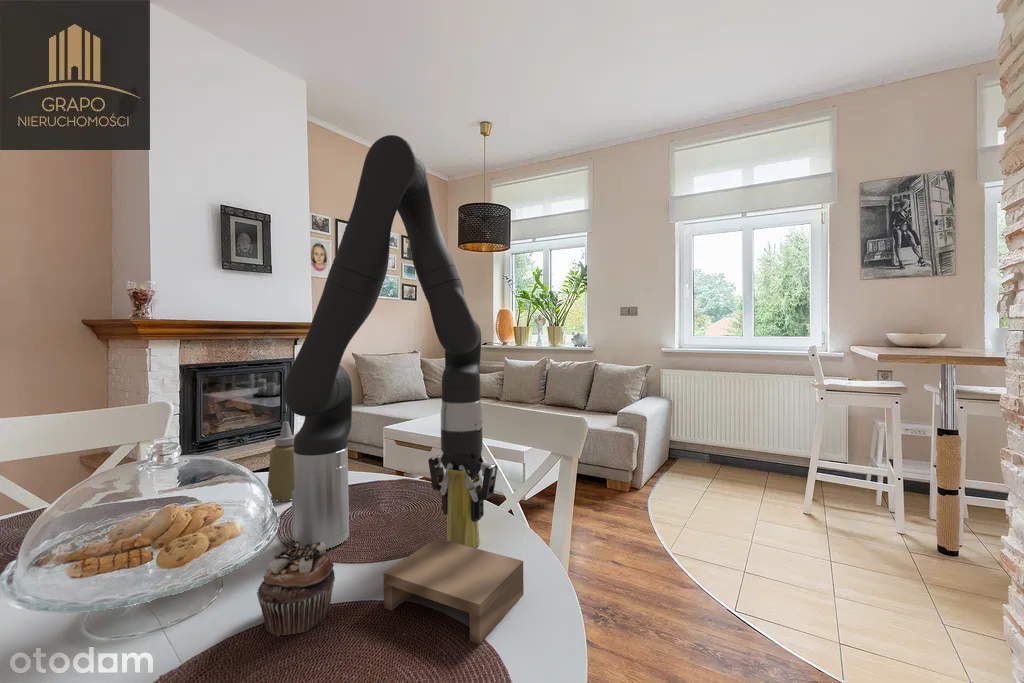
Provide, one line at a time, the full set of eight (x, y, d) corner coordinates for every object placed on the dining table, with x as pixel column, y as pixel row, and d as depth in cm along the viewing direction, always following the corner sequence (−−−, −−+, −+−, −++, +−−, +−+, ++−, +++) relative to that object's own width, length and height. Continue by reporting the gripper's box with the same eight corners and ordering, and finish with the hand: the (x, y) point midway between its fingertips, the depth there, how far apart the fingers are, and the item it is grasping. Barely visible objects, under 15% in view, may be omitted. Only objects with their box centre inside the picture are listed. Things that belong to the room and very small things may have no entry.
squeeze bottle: (259, 503, 103) (257, 424, 102) (283, 490, 111) (281, 418, 110) (291, 505, 102) (290, 425, 101) (313, 492, 110) (311, 418, 109)
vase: (474, 553, 79) (473, 472, 79) (441, 550, 80) (440, 470, 80) (483, 537, 85) (482, 462, 85) (452, 534, 86) (451, 460, 86)
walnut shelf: (383, 607, 64) (383, 572, 63) (436, 568, 74) (436, 537, 74) (479, 644, 56) (479, 604, 56) (523, 594, 67) (523, 560, 66)
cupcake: (341, 593, 67) (340, 526, 67) (326, 636, 58) (325, 559, 57) (272, 600, 66) (271, 532, 65) (245, 646, 56) (243, 566, 56)
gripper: (417, 425, 82) (418, 517, 82) (484, 433, 75) (485, 533, 76) (442, 418, 89) (443, 503, 89) (506, 424, 82) (506, 516, 82)
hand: (462, 516), depth 82 cm, fingers closed on vase, 5 cm apart
